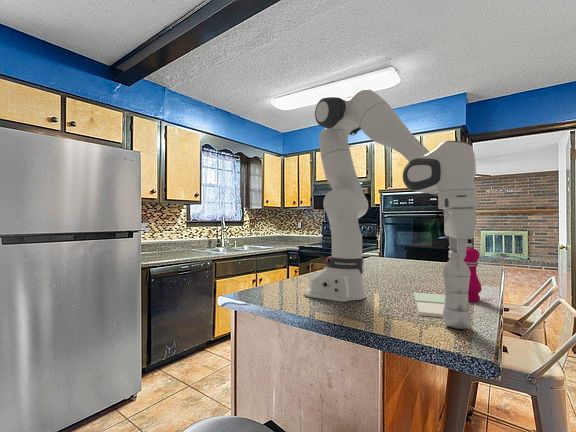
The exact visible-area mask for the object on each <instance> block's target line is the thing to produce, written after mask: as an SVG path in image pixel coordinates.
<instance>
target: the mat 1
mask: <svg viewBox="0 0 576 432" xmlns="http://www.w3.org/2000/svg"><path fill="white" fill-rule="evenodd" d="M413 297H414V303H416V302H425V303H436V304H445V294H438V293H425V292H413Z"/></svg>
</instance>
